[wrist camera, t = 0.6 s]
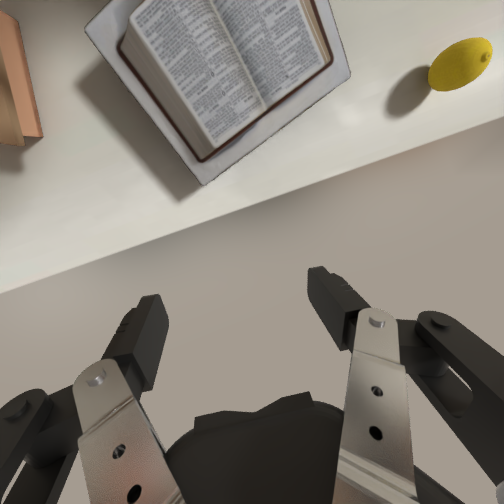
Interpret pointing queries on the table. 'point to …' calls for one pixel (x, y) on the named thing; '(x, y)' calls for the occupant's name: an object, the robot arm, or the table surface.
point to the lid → (8, 111)
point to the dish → (19, 76)
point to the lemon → (460, 64)
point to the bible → (221, 69)
